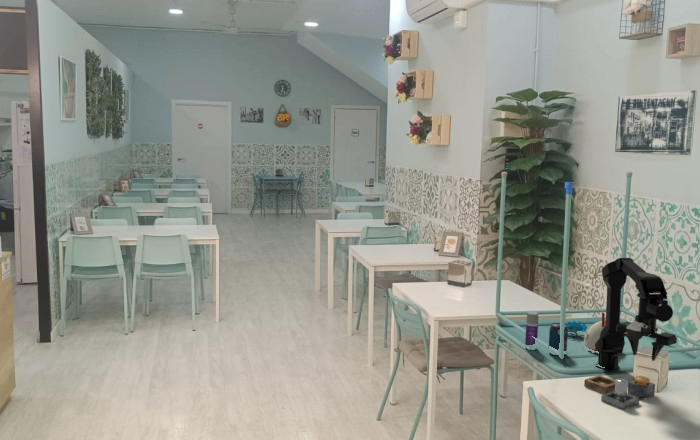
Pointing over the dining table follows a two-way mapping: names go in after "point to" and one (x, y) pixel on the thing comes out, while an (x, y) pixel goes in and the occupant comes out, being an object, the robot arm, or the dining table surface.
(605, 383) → the brown wooden tray
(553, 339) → the soda can
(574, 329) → the blue irregular lump
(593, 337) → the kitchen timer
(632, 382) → the socket block
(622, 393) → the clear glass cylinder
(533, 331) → the container
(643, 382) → the plunger
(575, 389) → the dining table surface
